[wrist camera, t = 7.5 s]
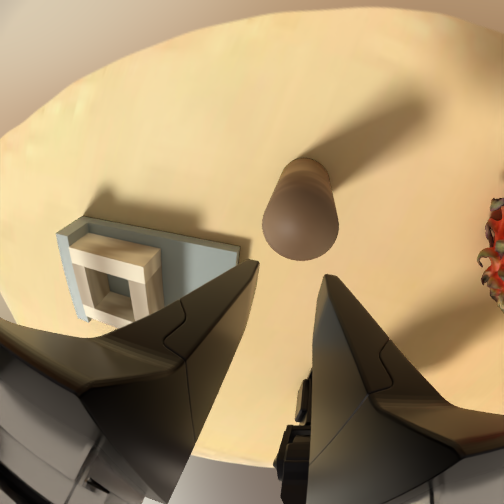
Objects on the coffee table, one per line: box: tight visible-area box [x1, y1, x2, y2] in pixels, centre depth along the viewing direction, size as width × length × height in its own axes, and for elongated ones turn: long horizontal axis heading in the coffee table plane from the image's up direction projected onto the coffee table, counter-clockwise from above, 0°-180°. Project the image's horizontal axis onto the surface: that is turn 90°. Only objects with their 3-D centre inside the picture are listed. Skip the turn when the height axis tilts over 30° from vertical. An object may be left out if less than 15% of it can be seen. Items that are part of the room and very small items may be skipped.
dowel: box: [262, 158, 339, 261], centre depth 16 cm, size 3×3×8 cm
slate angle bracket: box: [56, 216, 240, 322], centre depth 25 cm, size 16×10×4 cm, turn 83°
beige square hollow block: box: [69, 233, 165, 328], centre depth 24 cm, size 8×8×3 cm
